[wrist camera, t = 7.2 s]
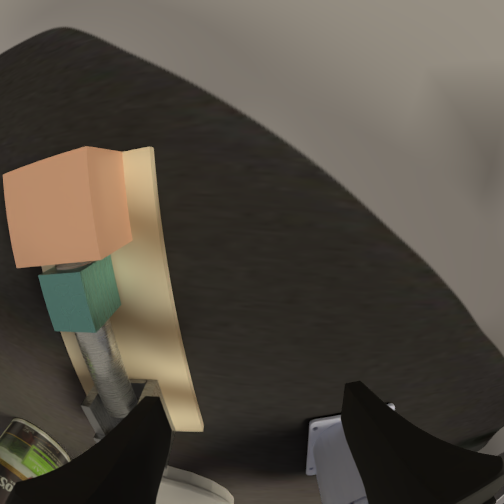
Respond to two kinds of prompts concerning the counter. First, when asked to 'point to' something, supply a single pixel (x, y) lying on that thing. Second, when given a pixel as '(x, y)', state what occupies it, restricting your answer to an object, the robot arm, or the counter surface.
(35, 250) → the socket
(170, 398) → the board
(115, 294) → the tube
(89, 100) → the counter surface
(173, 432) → the gray notched block
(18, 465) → the coffee can
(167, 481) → the lid
